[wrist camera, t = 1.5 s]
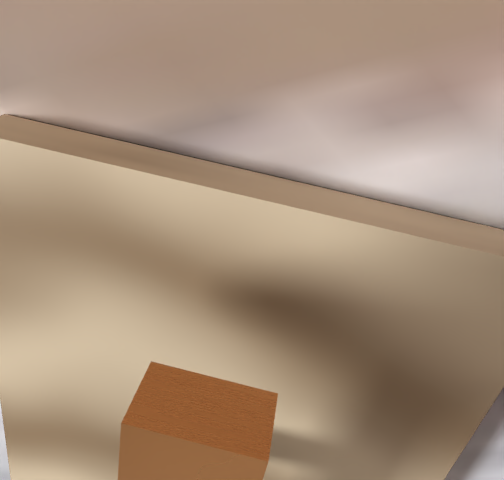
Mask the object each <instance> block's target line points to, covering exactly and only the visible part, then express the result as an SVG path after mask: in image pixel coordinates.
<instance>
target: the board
mask: <svg viewBox="0 0 504 480" xmlns="http://www.w3.org/2000/svg"><path fill="white" fill-rule="evenodd" d="M151 361H152V362H156V363H160V364H164V365H168V366H172V367H176V368H180V369H184V370H187V371H191V372H195V373H199V374H203V375H207V376H211V377H215V378H219V379H223V380H227V381H231V382H235V383H239V384H243V385H247V386H251V387H255V388H258V389H262V390H266V391H270V392H274V393H278V398H277V405H276V412H275V419H274V426H273V433H272V440H271V448H270V455H269V462H268V465H267V468H266V471H265V474H264V477H263V480H444V479H445V477H446V476H447V474H448V473H449V471H450V469H451V468H452V466H453V465H454V463H455V462H456V460H457V459H458V457H459V456H460V454H461V452H462V451H463V449H464V448H465V446H466V445H467V443H468V442H469V440H470V438H471V437H472V435H473V434H474V432H475V431H476V429H477V428H478V426H479V425H480V423H481V421H482V420H483V418H484V417H485V415H486V414H487V412H488V411H489V409H490V407H491V406H492V404H493V403H494V401H495V400H496V398H497V397H498V395H499V394H500V392H501V390H502V389H503V387H504V230H503V229H498V228H494V227H490V226H485V225H481V224H477V223H473V222H468V221H464V220H460V219H455V218H451V217H447V216H442V215H438V214H434V213H429V212H425V211H421V210H416V209H412V208H408V207H404V206H399V205H395V204H391V203H386V202H382V201H378V200H373V199H369V198H365V197H360V196H356V195H352V194H347V193H343V192H339V191H335V190H330V189H326V188H322V187H317V186H313V185H309V184H304V183H300V182H296V181H291V180H287V179H283V178H278V177H274V176H270V175H266V174H261V173H257V172H253V171H248V170H244V169H240V168H235V167H231V166H227V165H222V164H218V163H214V162H209V161H205V160H201V159H197V158H192V157H188V156H184V155H179V154H175V153H171V152H166V151H162V150H158V149H153V148H149V147H145V146H141V145H136V144H132V143H128V142H123V141H119V140H115V139H110V138H106V137H102V136H97V135H93V134H89V133H84V132H80V131H76V130H72V129H67V128H63V127H59V126H54V125H50V124H46V123H41V122H37V121H33V120H28V119H24V118H20V117H15V116H11V115H7V114H4V115H1V116H0V401H1V408H2V416H3V424H4V431H5V439H6V446H7V454H8V462H9V469H10V477H11V480H118V465H119V449H120V432H121V422H122V420H123V418H124V416H125V414H126V412H127V410H128V408H129V406H130V404H131V402H132V400H133V398H134V395H135V393H136V391H137V389H138V387H139V385H140V383H141V381H142V379H143V377H144V375H145V373H146V371H147V369H148V367H149V365H150V363H151Z"/></svg>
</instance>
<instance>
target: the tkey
mask: <svg viewBox="0 0 504 480" xmlns="http://www.w3.org/2000/svg"><path fill="white" fill-rule="evenodd" d="M277 398H278V393H274V392H270V391H266V390H262V389H258V388H255V387H251V386H247V385H243V384H239V383H235V382H231V381H227V380H223V379H219V378H215V377H211V376H207V375H203V374H199V373H195V372H191V371H187V370H184V369H180V368H176V367H172V366H168V365H164V364H160V363H156V362H152V361H151V363H150V365H149V367H148V369H147V371H146V373H145V375H144V377H143V379H142V381H141V383H140V385H139V387H138V389H137V391H136V393H135V395H134V398H133V400H132V402H131V404H130V406H129V408H128V410H127V412H126V414H125V416H124V418H123V420H122V422H121V432H120V449H119V465H118V480H263V477H264V474H265V471H266V468H267V465H268V462H269V455H270V448H271V440H272V433H273V426H274V419H275V412H276V405H277Z"/></svg>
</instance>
